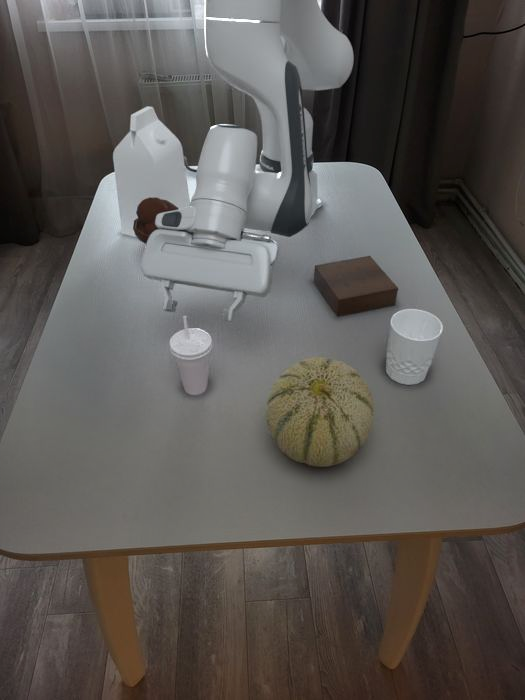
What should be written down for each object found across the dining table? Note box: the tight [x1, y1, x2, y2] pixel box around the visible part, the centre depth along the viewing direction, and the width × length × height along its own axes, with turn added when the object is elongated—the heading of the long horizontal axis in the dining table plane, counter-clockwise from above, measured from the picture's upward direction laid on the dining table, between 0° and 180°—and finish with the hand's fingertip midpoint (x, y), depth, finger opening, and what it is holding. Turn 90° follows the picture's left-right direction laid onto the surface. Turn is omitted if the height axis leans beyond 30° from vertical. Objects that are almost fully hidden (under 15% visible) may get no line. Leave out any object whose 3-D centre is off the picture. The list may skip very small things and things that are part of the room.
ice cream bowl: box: [133, 197, 179, 245], centre depth 112 cm, size 11×11×15 cm
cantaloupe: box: [265, 356, 375, 468], centre depth 75 cm, size 15×15×15 cm
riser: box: [313, 255, 399, 318], centre depth 108 cm, size 12×12×4 cm
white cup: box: [385, 308, 444, 386], centre depth 89 cm, size 8×8×10 cm
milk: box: [112, 105, 191, 238], centre depth 120 cm, size 12×12×26 cm
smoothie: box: [169, 315, 213, 396], centre depth 85 cm, size 6×6×14 cm
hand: (197, 316), depth 84 cm, fingers open, 8 cm apart
